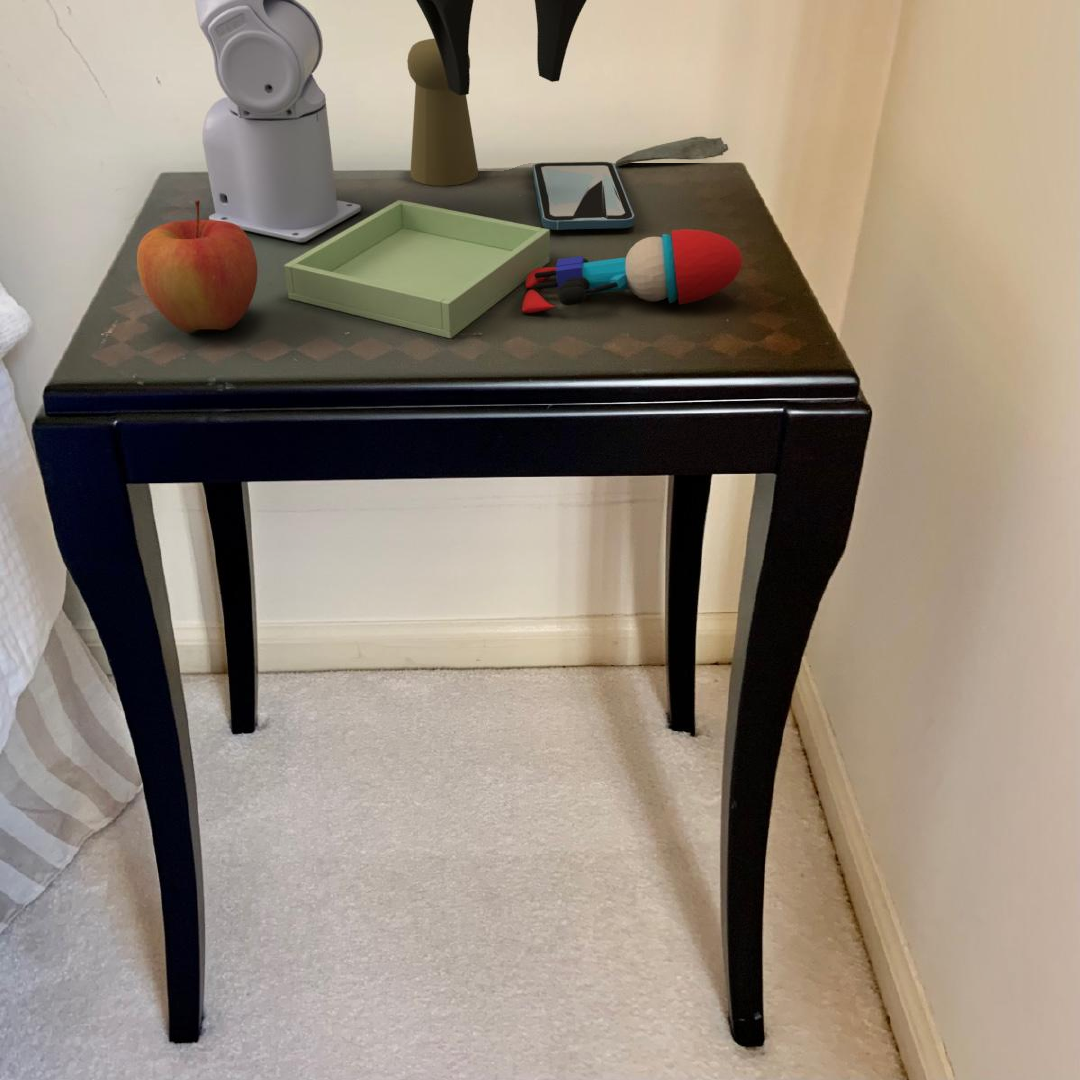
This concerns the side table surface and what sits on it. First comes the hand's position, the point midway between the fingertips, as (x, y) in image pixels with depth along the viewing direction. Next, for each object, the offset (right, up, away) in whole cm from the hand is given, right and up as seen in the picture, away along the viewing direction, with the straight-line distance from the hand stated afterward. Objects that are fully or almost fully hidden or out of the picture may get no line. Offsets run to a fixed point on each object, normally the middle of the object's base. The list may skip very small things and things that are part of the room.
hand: (504, 85), depth 82 cm
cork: (-6, -2, +15) cm, 16 cm away
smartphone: (+6, -6, +10) cm, 13 cm away
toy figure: (+9, -17, -5) cm, 20 cm away
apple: (-19, -20, -9) cm, 29 cm away
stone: (+15, 0, +16) cm, 22 cm away
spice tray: (-6, -15, -3) cm, 17 cm away
